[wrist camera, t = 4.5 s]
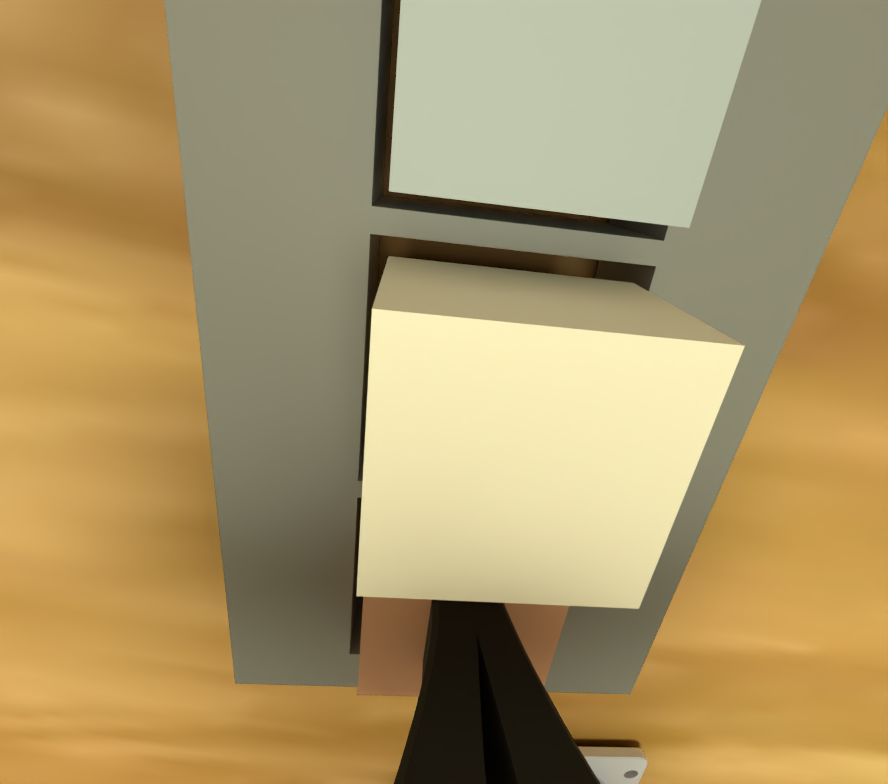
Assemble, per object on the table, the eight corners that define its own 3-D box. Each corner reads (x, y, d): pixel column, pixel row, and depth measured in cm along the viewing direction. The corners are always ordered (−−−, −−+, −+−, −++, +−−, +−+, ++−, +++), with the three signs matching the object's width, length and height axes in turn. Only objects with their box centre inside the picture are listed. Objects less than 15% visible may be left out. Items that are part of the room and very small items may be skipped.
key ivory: (576, 483, 10) (638, 608, 7) (374, 468, 9) (355, 596, 7) (633, 282, 8) (745, 345, 5) (388, 255, 8) (371, 309, 5)
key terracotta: (515, 590, 13) (539, 699, 11) (369, 583, 13) (357, 694, 10) (544, 471, 12) (582, 563, 9) (378, 459, 11) (366, 552, 9)
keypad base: (598, 613, 15) (629, 694, 13) (264, 599, 14) (235, 683, 12) (865, -139, 8) (1049, -263, 5) (214, -273, 7) (113, -488, 5)
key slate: (609, 208, 9) (688, 228, 6) (397, 181, 9) (389, 191, 6) (676, -67, 7) (823, -197, 5) (418, -113, 7) (418, -281, 4)
